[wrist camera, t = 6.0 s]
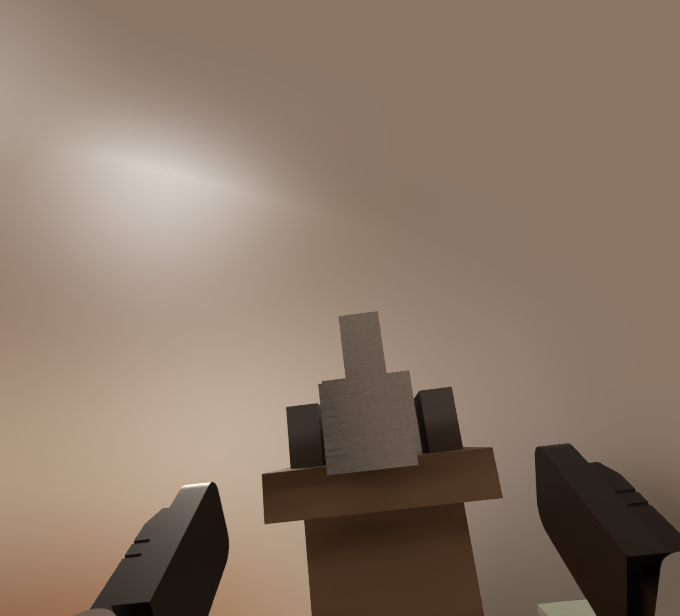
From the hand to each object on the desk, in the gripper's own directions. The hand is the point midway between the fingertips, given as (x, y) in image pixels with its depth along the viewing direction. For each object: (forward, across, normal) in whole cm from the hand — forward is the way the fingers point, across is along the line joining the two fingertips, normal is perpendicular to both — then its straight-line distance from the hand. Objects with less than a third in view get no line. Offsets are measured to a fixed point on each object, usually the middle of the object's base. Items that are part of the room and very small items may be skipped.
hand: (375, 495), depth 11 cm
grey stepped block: (+8, 0, +4) cm, 8 cm away
